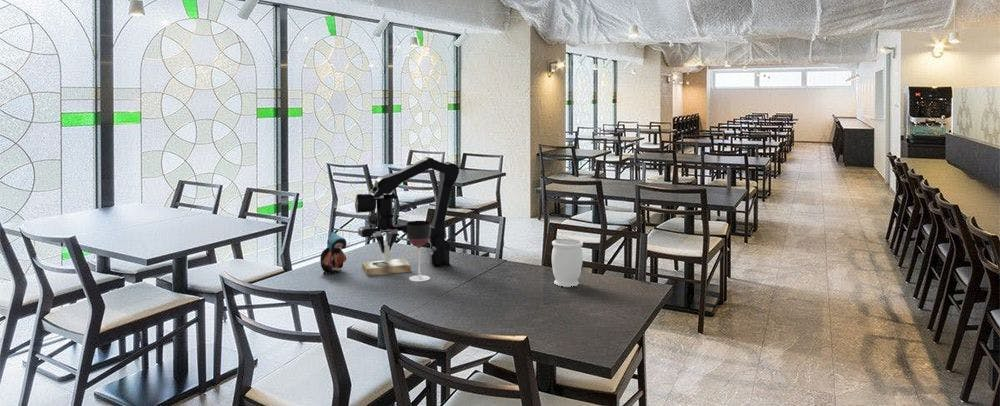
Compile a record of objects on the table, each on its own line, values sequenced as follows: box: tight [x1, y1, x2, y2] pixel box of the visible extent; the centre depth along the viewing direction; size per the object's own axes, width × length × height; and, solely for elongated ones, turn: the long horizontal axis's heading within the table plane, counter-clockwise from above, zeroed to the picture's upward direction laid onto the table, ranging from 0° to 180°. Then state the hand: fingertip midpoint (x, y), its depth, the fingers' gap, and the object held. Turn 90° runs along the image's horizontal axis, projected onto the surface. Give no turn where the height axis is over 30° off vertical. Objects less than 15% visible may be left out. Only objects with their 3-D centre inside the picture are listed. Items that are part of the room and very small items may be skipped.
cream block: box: [372, 242, 391, 264], centre depth 237 cm, size 6×6×7 cm
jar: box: [551, 238, 584, 288], centre depth 221 cm, size 11×10×15 cm
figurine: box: [319, 230, 348, 276], centre depth 234 cm, size 10×7×15 cm
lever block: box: [361, 257, 412, 277], centre depth 238 cm, size 16×10×3 cm, turn 112°
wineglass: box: [406, 220, 431, 282], centre depth 227 cm, size 8×9×20 cm
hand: (385, 252), depth 237 cm, fingers closed on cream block, 2 cm apart
